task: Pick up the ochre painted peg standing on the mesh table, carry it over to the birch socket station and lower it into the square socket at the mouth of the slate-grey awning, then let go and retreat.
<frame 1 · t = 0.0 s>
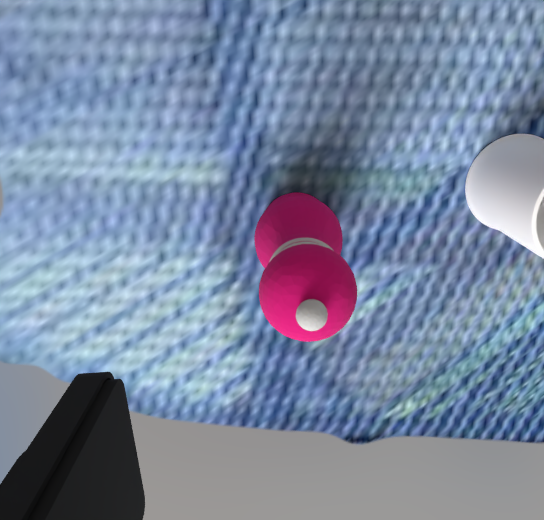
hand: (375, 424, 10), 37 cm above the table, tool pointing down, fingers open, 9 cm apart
pepper mill: (295, 225, 47), on the table
mug: (529, 173, 46), on the table
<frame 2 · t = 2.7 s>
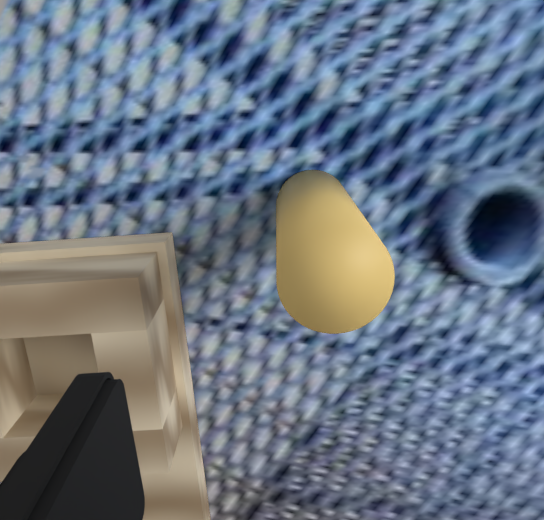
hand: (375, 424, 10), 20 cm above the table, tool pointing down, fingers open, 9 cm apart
peg: (311, 205, 29), on the table
awning station: (101, 404, 33), on the table
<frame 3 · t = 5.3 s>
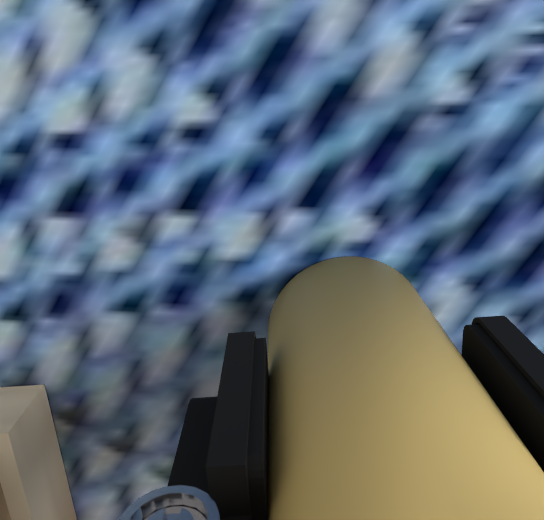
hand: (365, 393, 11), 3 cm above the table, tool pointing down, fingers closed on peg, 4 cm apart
peg: (346, 330, 13), on the table, touching gripper
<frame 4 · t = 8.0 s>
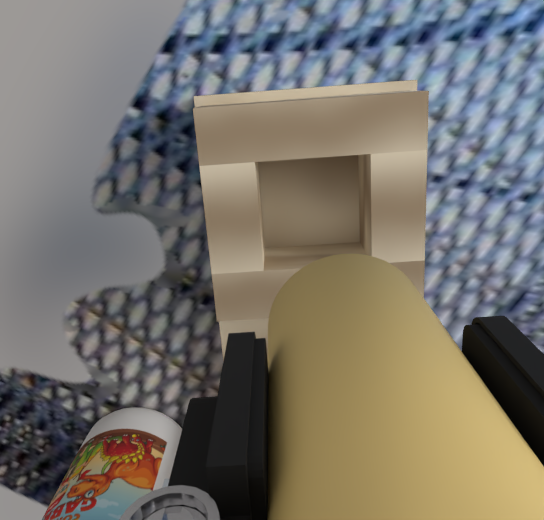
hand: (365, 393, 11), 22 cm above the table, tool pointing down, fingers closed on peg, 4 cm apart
peg: (346, 328, 13), point 19 cm above the table, touching gripper
awning station: (311, 268, 33), on the table
milk bottle: (141, 446, 38), on the table
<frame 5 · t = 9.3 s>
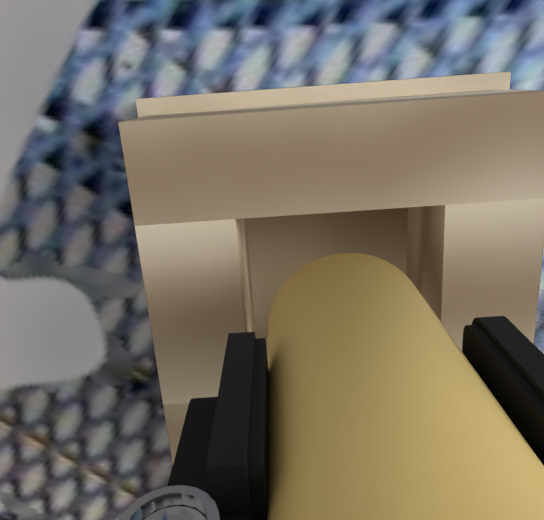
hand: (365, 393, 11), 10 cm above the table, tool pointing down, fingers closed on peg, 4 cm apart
peg: (346, 327, 13), point 8 cm above the table, touching gripper
awning station: (327, 359, 22), on the table
when the fingers open (7 cm above the table, at t = 10.6 s): peg drops 2 cm, resting on awning station.
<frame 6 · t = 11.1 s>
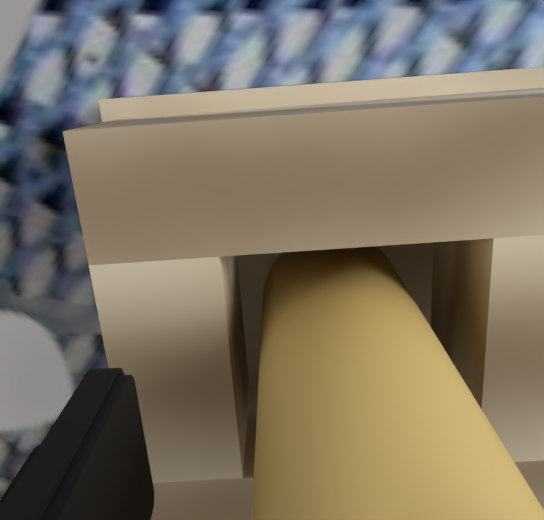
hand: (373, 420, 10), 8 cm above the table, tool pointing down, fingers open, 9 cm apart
peg: (330, 297, 15), point 2 cm above the table, touching awning station
awning station: (333, 403, 19), on the table
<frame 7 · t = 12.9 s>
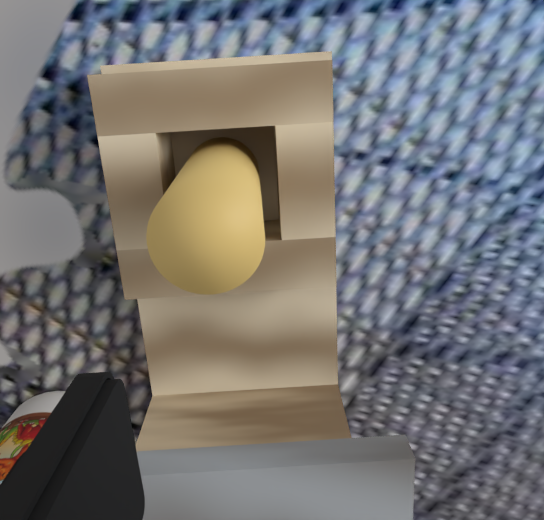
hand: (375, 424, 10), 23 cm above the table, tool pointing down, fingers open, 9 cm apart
peg: (223, 173, 29), point 2 cm above the table, touching awning station
awning station: (235, 248, 32), on the table
milk bottle: (68, 431, 37), on the table
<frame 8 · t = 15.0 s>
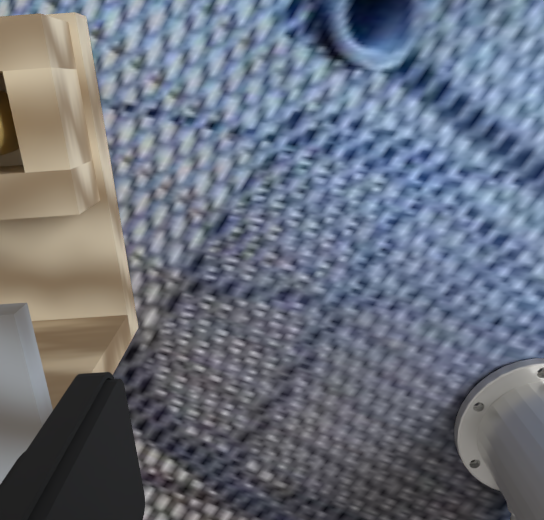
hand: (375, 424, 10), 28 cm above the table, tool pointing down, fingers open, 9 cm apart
awning station: (30, 192, 37), on the table
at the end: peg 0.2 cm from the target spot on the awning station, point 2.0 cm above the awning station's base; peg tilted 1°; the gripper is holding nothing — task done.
